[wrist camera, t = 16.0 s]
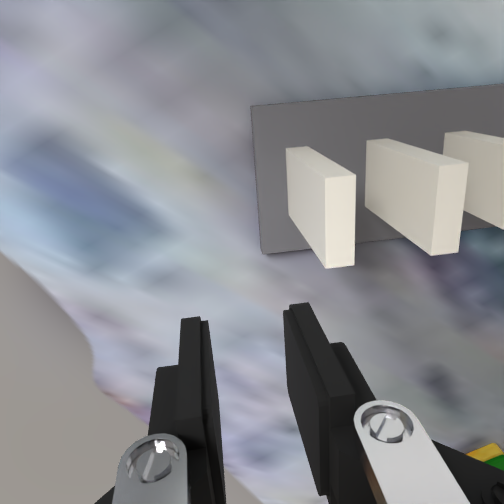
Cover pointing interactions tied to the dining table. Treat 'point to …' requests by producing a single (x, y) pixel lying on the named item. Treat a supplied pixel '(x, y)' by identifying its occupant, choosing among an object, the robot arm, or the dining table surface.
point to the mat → (359, 147)
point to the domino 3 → (480, 173)
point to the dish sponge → (489, 455)
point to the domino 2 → (417, 193)
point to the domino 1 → (322, 205)
